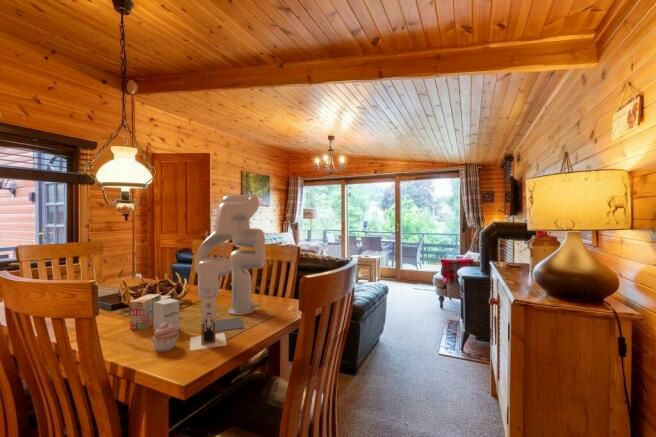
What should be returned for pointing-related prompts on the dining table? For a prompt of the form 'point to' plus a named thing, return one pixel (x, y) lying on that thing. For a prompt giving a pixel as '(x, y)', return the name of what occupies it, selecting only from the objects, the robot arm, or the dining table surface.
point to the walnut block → (204, 330)
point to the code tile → (219, 341)
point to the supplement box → (166, 313)
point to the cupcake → (165, 337)
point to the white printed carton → (144, 310)
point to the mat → (228, 324)
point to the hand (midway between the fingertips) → (208, 336)
